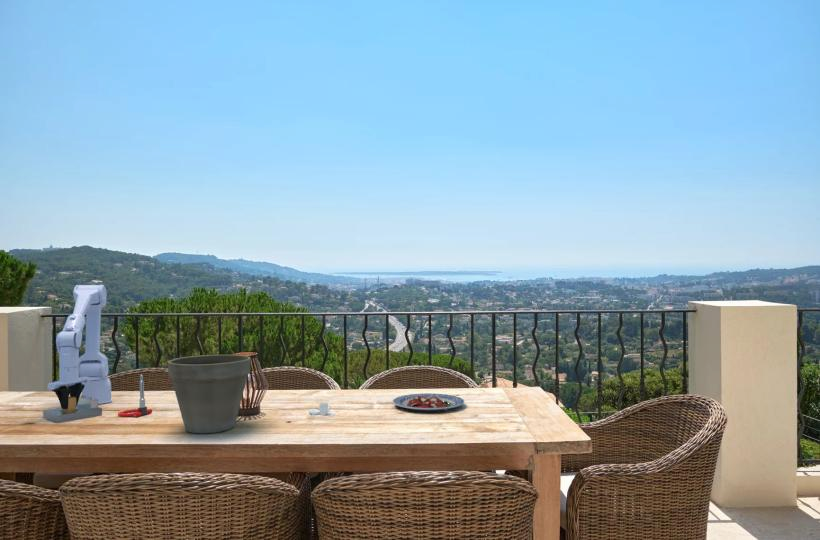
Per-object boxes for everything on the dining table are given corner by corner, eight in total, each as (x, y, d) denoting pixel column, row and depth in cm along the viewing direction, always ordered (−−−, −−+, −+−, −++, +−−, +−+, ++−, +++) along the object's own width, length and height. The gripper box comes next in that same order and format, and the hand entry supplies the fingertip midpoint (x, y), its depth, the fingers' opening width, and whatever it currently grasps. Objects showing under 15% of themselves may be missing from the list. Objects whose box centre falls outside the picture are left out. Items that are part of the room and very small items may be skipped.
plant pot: (186, 418, 208) (186, 353, 208) (260, 418, 207) (260, 353, 207) (153, 438, 183) (153, 364, 183) (237, 438, 182) (236, 364, 182)
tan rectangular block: (69, 414, 212) (69, 396, 212) (76, 414, 211) (76, 397, 211) (61, 416, 209) (61, 398, 209) (68, 416, 208) (68, 398, 208)
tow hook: (111, 417, 212) (134, 418, 208) (110, 376, 212) (132, 376, 209) (132, 411, 220) (154, 412, 217) (131, 372, 221) (153, 372, 217)
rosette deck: (86, 410, 221) (86, 393, 221) (101, 415, 213) (101, 397, 213) (43, 417, 210) (43, 399, 210) (57, 423, 202) (57, 404, 202)
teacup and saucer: (305, 415, 213) (305, 403, 213) (323, 411, 219) (323, 400, 219) (321, 419, 207) (321, 407, 207) (339, 415, 213) (339, 403, 213)
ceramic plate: (380, 411, 218) (380, 402, 218) (408, 397, 242) (408, 389, 242) (451, 417, 209) (451, 408, 209) (472, 402, 233) (472, 394, 233)
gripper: (78, 363, 218) (78, 402, 218) (40, 369, 204) (41, 411, 204) (93, 364, 215) (94, 403, 215) (56, 370, 202) (56, 412, 202)
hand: (69, 407), depth 210 cm, fingers closed on tan rectangular block, 3 cm apart
